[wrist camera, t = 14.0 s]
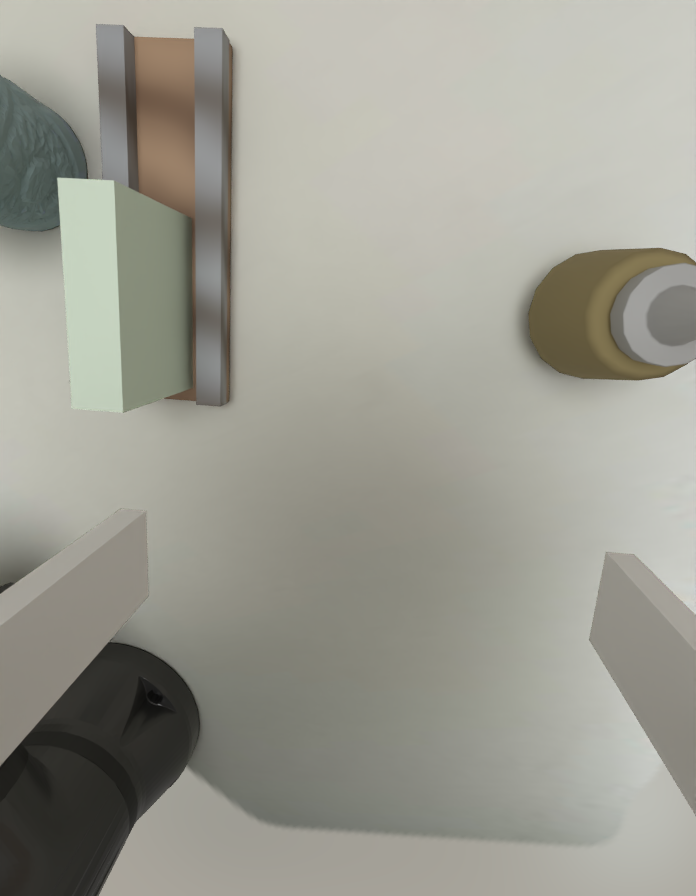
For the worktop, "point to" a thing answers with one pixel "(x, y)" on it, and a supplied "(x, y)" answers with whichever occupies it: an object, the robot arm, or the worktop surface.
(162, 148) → the track base
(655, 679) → the robot arm
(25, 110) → the teal cup
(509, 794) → the worktop surface
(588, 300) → the squeeze bottle
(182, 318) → the door panel
